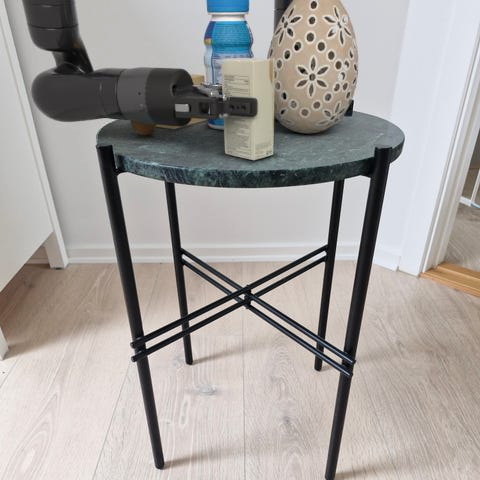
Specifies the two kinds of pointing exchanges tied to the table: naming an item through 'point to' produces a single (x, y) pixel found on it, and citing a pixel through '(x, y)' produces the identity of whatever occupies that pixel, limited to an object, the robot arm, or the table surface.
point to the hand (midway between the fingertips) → (264, 103)
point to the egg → (143, 128)
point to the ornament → (313, 51)
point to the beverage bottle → (225, 40)
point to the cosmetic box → (262, 125)
